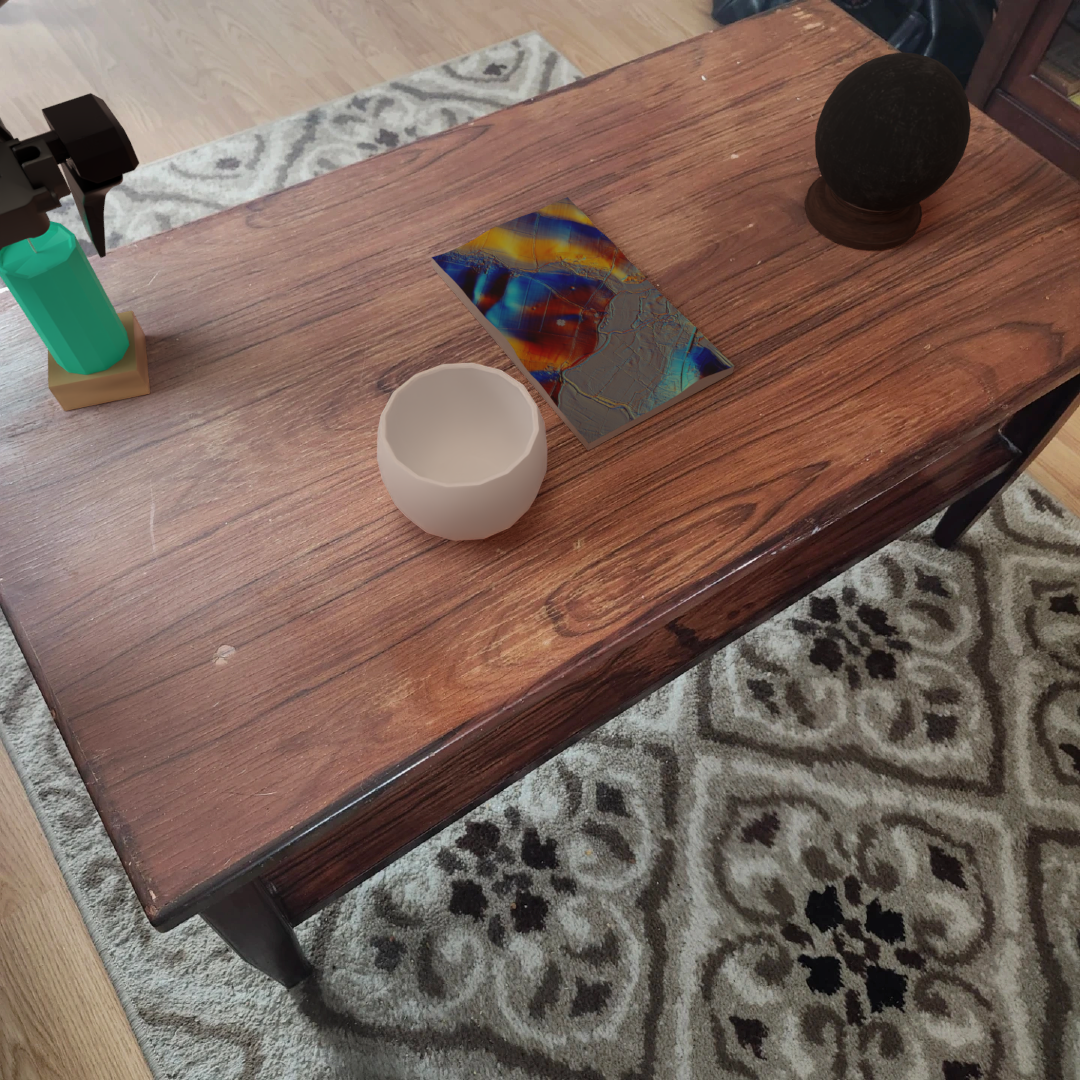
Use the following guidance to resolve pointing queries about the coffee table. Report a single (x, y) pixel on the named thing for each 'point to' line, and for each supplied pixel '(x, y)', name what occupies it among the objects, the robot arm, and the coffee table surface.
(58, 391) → the maple block
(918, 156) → the velvet ball on stand
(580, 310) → the relief map
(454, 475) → the cup
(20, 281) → the candle
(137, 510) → the coffee table surface
